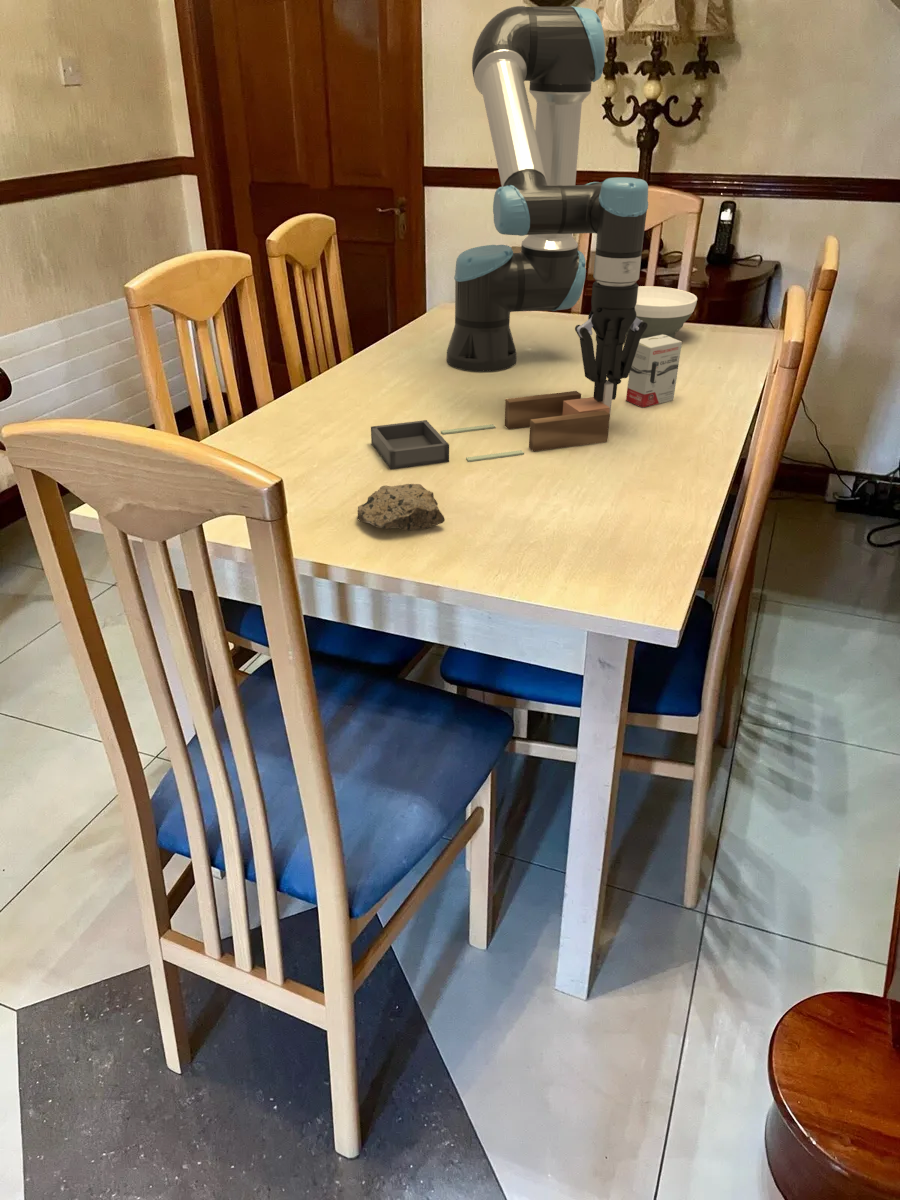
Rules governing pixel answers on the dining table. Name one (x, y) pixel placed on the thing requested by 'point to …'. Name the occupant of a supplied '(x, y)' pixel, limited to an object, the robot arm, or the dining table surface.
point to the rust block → (583, 406)
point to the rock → (401, 508)
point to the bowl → (663, 309)
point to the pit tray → (409, 444)
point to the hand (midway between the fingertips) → (602, 417)
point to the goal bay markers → (482, 457)
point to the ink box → (654, 371)
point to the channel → (555, 421)
